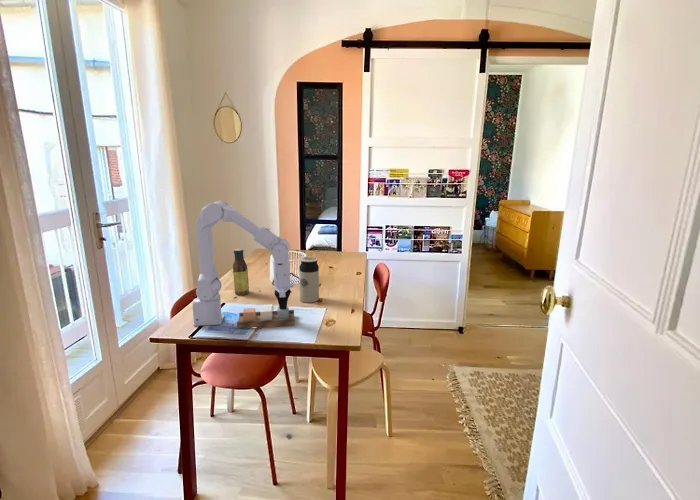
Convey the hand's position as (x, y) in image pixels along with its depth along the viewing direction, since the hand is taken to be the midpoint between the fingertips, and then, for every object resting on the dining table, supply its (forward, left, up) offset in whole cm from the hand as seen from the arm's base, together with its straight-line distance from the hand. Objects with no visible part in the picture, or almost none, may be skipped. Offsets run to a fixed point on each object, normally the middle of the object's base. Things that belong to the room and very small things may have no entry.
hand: (283, 309), depth 143 cm
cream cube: (-6, 0, -3) cm, 7 cm away
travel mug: (+11, +21, -5) cm, 24 cm away
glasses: (+4, +40, -6) cm, 40 cm away
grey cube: (0, 0, -3) cm, 3 cm away
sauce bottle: (-18, +33, -5) cm, 38 cm away
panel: (-6, 0, -5) cm, 8 cm away
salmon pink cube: (-12, 0, -3) cm, 12 cm away
